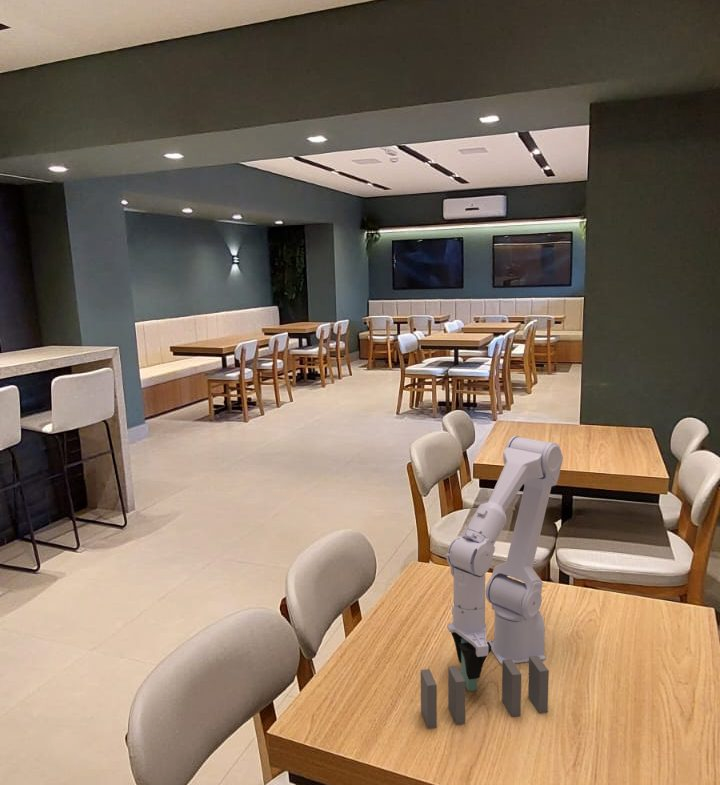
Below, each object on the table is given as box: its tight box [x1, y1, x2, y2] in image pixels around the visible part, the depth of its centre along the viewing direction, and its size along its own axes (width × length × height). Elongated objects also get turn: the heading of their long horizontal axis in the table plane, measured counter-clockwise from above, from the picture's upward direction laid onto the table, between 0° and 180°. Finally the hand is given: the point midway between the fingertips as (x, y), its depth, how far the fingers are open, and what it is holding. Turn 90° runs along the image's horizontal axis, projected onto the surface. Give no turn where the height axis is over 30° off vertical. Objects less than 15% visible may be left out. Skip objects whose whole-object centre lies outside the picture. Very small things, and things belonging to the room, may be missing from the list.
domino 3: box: [501, 659, 522, 718], centre depth 107 cm, size 2×4×8 cm, turn 9°
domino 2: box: [447, 665, 466, 726], centre depth 106 cm, size 2×4×8 cm, turn 9°
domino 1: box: [420, 668, 438, 730], centre depth 105 cm, size 2×4×8 cm, turn 9°
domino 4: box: [527, 656, 550, 714], centre depth 108 cm, size 2×4×8 cm, turn 9°
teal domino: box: [460, 638, 478, 692], centre depth 114 cm, size 2×4×8 cm, turn 9°
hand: (468, 669), depth 114 cm, fingers closed on teal domino, 4 cm apart
